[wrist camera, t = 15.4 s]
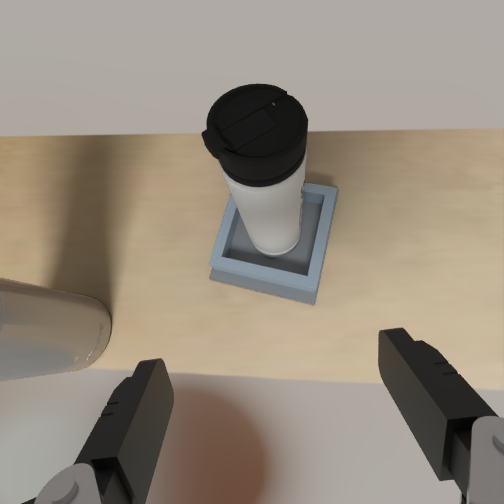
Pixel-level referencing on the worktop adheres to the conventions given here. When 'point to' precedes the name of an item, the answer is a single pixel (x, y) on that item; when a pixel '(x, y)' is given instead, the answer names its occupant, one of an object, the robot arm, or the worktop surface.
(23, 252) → the worktop surface
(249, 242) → the light blue open tray
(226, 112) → the travel mug
